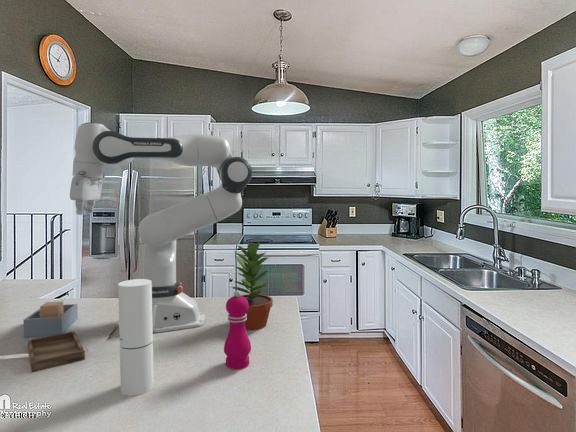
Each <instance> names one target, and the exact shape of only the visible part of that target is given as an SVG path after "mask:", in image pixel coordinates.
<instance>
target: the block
mask: <svg viewBox="0 0 576 432" xmlns="http://www.w3.org/2000/svg"><path fill="white" fill-rule="evenodd" d="M63 305H64V301H62V300H61V301H59V300H58V301H45V302H44V303H43V304H41V306H39V309H40V316H41V318H48V317H60V316H61V315H62V314H64V309H63Z"/></svg>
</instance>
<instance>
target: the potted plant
mask: <svg viewBox="0 0 576 432" xmlns="http://www.w3.org/2000/svg"><path fill="white" fill-rule="evenodd" d="M260 245H261V244H260V241H258V242H256V243H255V242H253V241H251V243H248V244H247V248H246V249H247V250H246V249H245V248H244V247H242V246H241V245H237V248H238V249H239V250H240V251H241V252H242V253H243V254H241V253H238V252H235V257H236V261H237V262H238V264H240V265H241V266H242V267H239V266H235V268H236V269H237V270H238V271H240V272H241V273H239V272H237V274H238V275H239V276H241V277H243V278H242V279H241V282H240V281H237V280H235V281H233V280H232V281H233V282H234V283H235V284H239V285H241V286H243V287H244V288H242V287H239V286H230V288H231V289H234V290H235V291H237V290H238V291H240V292H243V293H245V294H241V295H240V296H242V297H244V298H246V299H247V301H248V304H249V308H248V311H247V312H246V314H247V316H246V317H247V320H246V321H245V329H246V331H256V330H257V331H258V330H260V329H261V330H262V329H264V328H265V327H267V323H268V319H269V315H270V311H271V308H273V303H274V302H273V301H274V300H273V298H272V297H271V296H268V295H265V294H261V292H262V290H261V289H262V288H264V287H267V286H269V283H264V280H261V281H259V280H260V279H261V278H263V277H264V276H265V275H267V274H268V273H269V272H270V270H269V271H268V270H264V271H263V272H262V273H260V274H259V275H258V273H259V271H260V269H261V268H262V267H263V263H265V261H266V260H268V259H269V258H270V256H268V257H263V256H264V255H266V253H267V251H265V252H263V253H262V252H261V253H257V252H258V250H259V248H260ZM257 281H258V282H257ZM245 288H246V289H245Z"/></svg>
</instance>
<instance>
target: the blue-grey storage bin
mask: <svg viewBox="0 0 576 432" xmlns="http://www.w3.org/2000/svg"><path fill="white" fill-rule="evenodd" d="M63 309H64V314H62V315H61V316H60V317H48V318H41V316H40V308H38V309H37V310H36V311H34V312H33V313H31V314H30V315H29V316H27V317H25V318H24V319H23V338H33V337H35V338H38V337H47V336H53V335H58V334H63V333H66V331H68V329H69V328H71V326H73V325H74V324H75V323H76V322H77V321H78V320H79V315H78V313H79V312H78V310H79V309H78V303H68V304H63Z"/></svg>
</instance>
